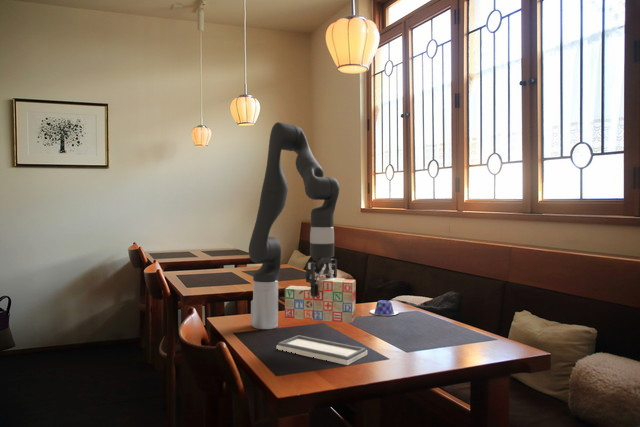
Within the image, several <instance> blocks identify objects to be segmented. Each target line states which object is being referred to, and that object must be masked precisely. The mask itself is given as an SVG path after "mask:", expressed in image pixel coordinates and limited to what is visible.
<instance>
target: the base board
mask: <svg viewBox="0 0 640 427" xmlns="http://www.w3.org/2000/svg"><path fill="white" fill-rule="evenodd" d="M277 349H278V351H282V350H283V352H286V351H287V353H291V352H292V353H291V354H295V353H296V355H301V356H305V357H309V358H313V357H314V359H318V360H323V361H326V360H327V361H328V362H332V363H337V364H339V365H344V366H349V365H350V364H352V363H354V362H356V361H358V360H360V359H361V358H364V357H365V356H367V355H368V353H369V352H368V350H367V348H365V347H361V346H356V345H350V344H346V343H340V342H335V341H331V340H325V339H320V338H315V337H309V336H306V335H299V334H298V335H295V336H293V337H290V338H287V339H284V340H282V341H279V342H278V344H277V345H276V350H277Z"/></svg>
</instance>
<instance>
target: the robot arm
mask: <svg viewBox="0 0 640 427" xmlns="http://www.w3.org/2000/svg"><path fill="white" fill-rule="evenodd" d="M282 150H283V151H287V152H293V153H294V152H295V153H296V158H295V167H296V170H297V172H298V174H299V175H300V176H301V179H302V180H303V185H304V192H305V195H306V196H307V198H309V199H311V200H315V201H323V203H322V205H321V206H319V207H314V208H313V209H311V212H310V231H309V232H310V233H309V257H311V258H312V261H311V262H306V263H305V282H306V283H309V284H310V287H311V296H314V297H316V296H318V282H319V279H320V278H323V277H324V278H338V260H337V259H336V258H333V257H335V230H334V215H335V210H336V206H337V202H338V198H339V195H340V184H339V181H338V180H337V179H336V178H335V177H331V176H327V177H325V176H324V170H323V167H322V166H321V165H320V162H318V160H317V159H316V158H315V156H314V155H313V152H312V149H311V148H310V145H309V142H308V139H307V137H306V133H304V130H303V129H302V128H301V127H300V126H299V125H295V124H289V123H285V122H280V121H279V122H275V123H274V124H273V125H272V128H271V131H270V134H269V143H268V150H267V152H268V153H267V158H266V160H267V162H266V167H265V173H264V179H263V184H262V188H261V192H260V198H259V204H258V205H259V206H258V210H257V215H256V220H255V223H254V227H253V231H252V232H251V233H252V234H251V237H250V241H249V245H248V256H249V259H250V260H251V261H252V262H253V263H255V264H260V263H261V266H260V267H259V269H257V270H256V271H254V273H253V275H252V277H253V278H252V284H253V285H252V289H253V290H252V293H253V294H252V300H251V301H250V327H253V328H255V329H257V330H272V329H276V328H277V327H278V326H279V324H278V323H279V275H280V273H281V261H282V246H281V243H280V240H279V239H278V238H277V237H276V236H275V237H274V236H269V235H270V232H271V229H272V227H273V225H274V223H275V221H277V219H278V217H279V216H280V215H281V213H282V211H283V210H284V208H285V206H286V201H287V196H288V192H289V186H288V182H287V179H286V176H285V174H284V171H283V168H282V164H281V155H282V154H281V153H282ZM315 279H316V280H315Z"/></svg>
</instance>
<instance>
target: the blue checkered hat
mask: <svg viewBox="0 0 640 427" xmlns="http://www.w3.org/2000/svg"><path fill="white" fill-rule="evenodd" d="M369 313H370V314H373V315H377V316H382V317H383V316H385V317H386V316H387V317H389V316H396V315H397V314H399V311H398V310H395V309H394V308H393V304H392V302H391V301H390V300H378V301H377V302H376V305H375V308H374V309H370V310H369Z"/></svg>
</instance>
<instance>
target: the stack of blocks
mask: <svg viewBox="0 0 640 427" xmlns="http://www.w3.org/2000/svg"><path fill="white" fill-rule="evenodd" d="M315 280H316V278H315ZM356 284H357V282H356V279H352V278H351V279H349V278H345V277H343V278H341V277H339V278H338V277H336V278H325V277H321V278H320V279H319V282H318V296H316V297H314V296H311V286H306V285H300V286H299V285H289V286H287V287H286V288H285V289H284V318H286V319H298V320H308V321H309V320H310V321H311V320H312V321H322V322H323V321H324V322H326V321H327V322H337V323H349V324H350V323H353V322H354V320H355V319H356V298H357V296H356V295H357V294H356V291H357V289H356V286H357V285H356Z"/></svg>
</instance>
